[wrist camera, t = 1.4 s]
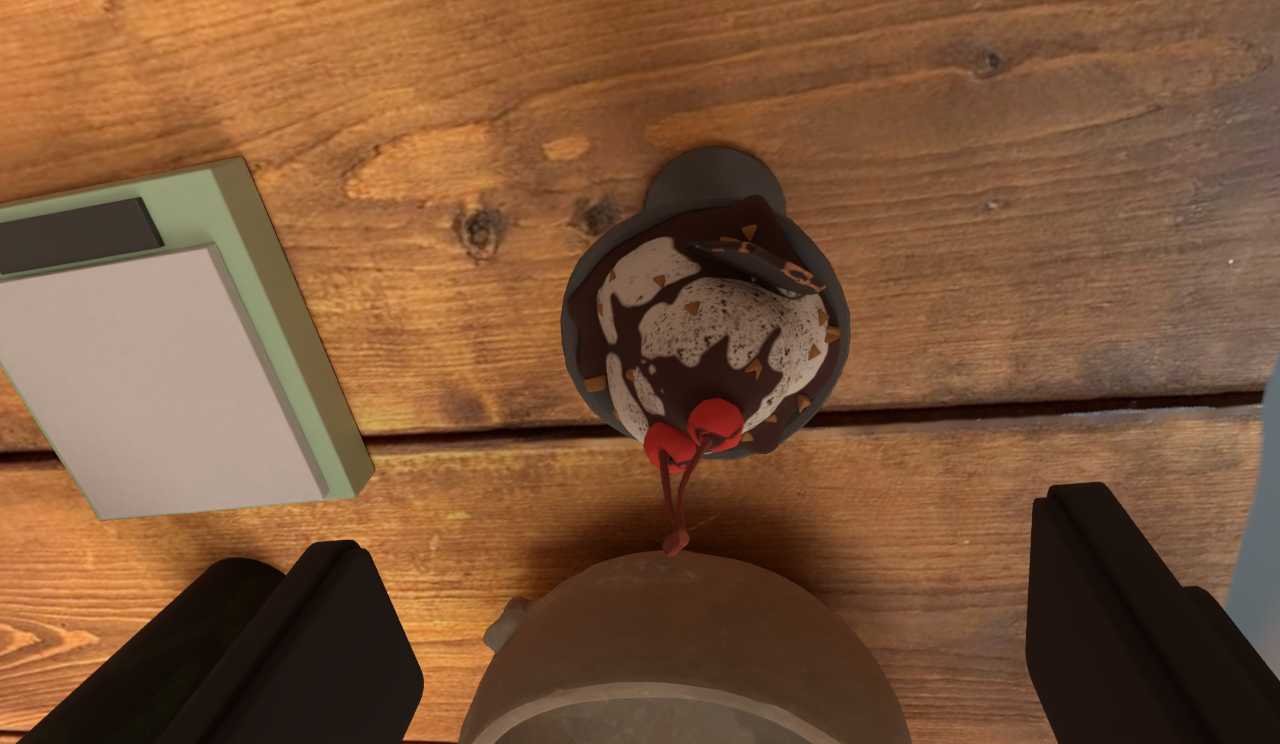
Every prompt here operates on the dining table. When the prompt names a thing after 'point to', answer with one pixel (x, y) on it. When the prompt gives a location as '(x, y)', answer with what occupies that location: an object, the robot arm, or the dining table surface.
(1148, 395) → the dining table surface
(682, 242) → the sundae
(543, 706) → the bowl
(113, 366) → the scale
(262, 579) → the cup
